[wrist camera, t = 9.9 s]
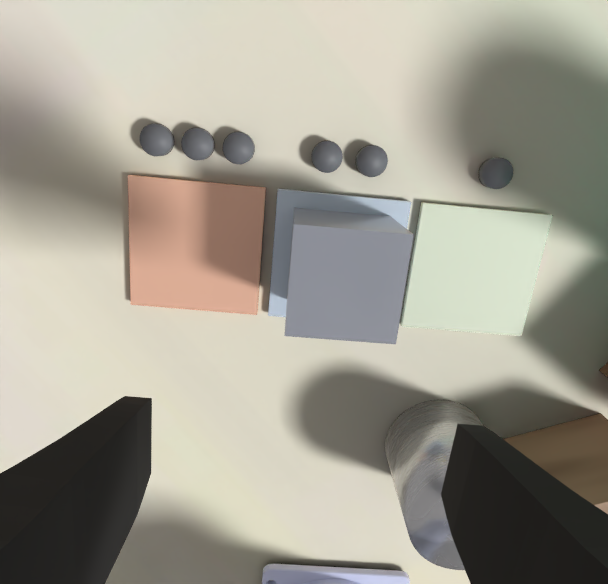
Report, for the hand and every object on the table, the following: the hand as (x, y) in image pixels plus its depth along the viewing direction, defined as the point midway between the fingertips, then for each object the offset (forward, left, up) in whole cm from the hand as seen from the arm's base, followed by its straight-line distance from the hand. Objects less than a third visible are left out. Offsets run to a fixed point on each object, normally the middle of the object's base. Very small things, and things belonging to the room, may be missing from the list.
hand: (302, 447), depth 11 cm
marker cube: (+2, -1, -10) cm, 10 cm away
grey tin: (-7, -7, -10) cm, 14 cm away
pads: (+3, -1, -10) cm, 11 cm away
